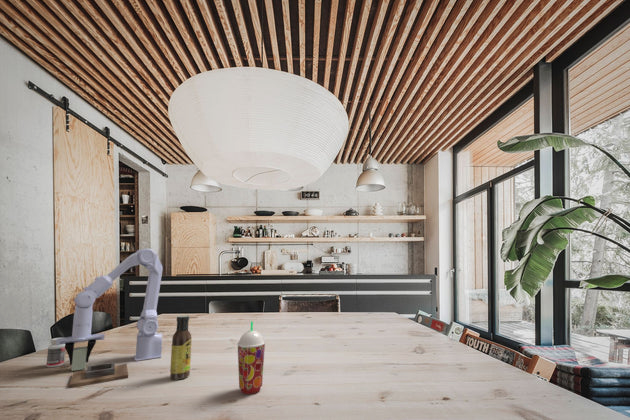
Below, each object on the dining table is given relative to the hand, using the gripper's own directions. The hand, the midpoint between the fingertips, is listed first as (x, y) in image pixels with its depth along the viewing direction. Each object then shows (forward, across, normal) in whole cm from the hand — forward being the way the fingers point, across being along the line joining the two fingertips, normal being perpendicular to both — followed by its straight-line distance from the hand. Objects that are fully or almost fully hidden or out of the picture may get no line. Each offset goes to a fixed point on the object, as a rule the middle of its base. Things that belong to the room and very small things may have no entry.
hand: (79, 362), depth 119 cm
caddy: (+2, +7, -13) cm, 15 cm away
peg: (+2, 0, 0) cm, 2 cm away
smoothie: (+3, +46, -53) cm, 70 cm away
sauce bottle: (+3, +30, -29) cm, 42 cm away
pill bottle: (+3, -8, +11) cm, 14 cm away
